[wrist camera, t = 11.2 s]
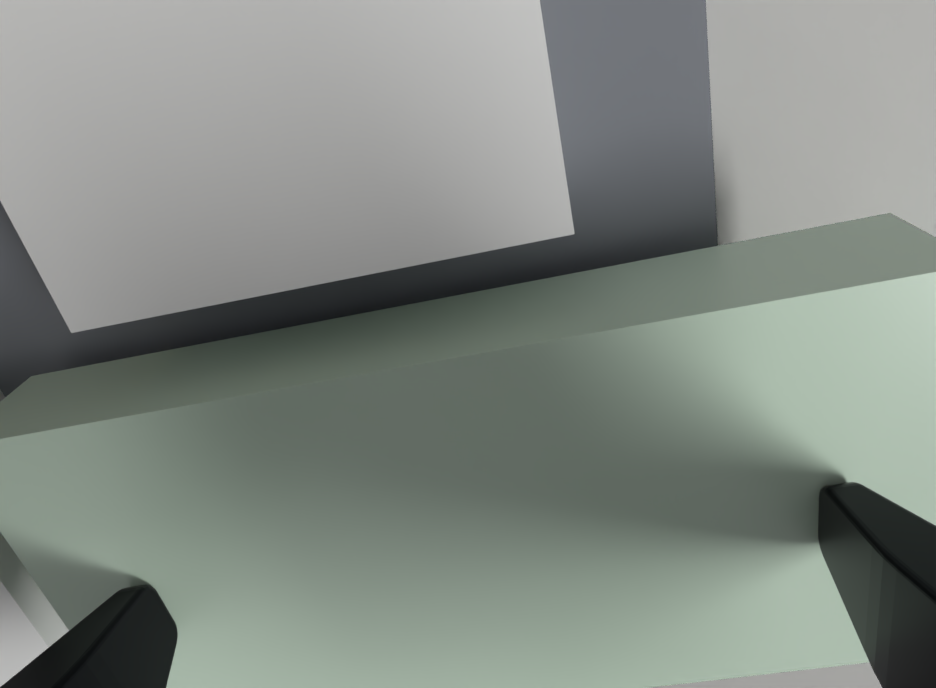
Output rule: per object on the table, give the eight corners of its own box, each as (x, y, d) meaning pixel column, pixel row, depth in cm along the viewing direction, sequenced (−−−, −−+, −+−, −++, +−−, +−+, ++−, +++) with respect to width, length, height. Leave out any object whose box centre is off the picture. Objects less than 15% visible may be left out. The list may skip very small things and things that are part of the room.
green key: (832, 511, 12) (929, 655, 9) (215, 598, 14) (148, 744, 11) (845, 188, 9) (984, 262, 7) (75, 339, 11) (-58, 448, 8)
